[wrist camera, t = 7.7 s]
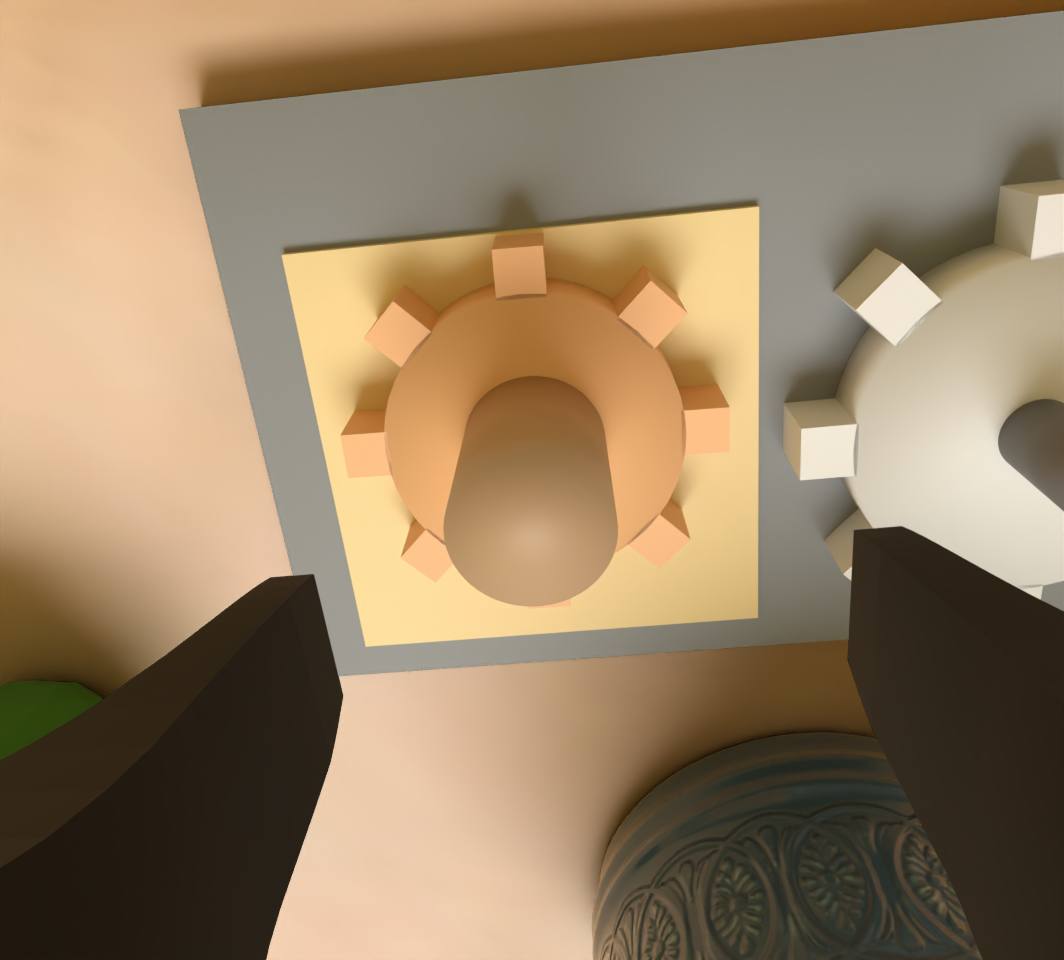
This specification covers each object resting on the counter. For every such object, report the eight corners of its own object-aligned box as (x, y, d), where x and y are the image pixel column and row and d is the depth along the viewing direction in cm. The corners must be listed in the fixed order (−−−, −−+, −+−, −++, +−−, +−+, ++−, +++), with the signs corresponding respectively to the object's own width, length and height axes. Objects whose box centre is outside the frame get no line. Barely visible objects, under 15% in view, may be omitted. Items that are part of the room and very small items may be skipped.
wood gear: (718, 218, 18) (779, 273, 13) (717, 563, 22) (766, 710, 17) (325, 250, 19) (244, 316, 14) (385, 584, 22) (337, 733, 17)
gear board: (1281, -14, 18) (1588, -49, 12) (1151, 590, 24) (1323, 741, 18) (200, 107, 19) (65, 122, 14) (328, 650, 25) (268, 807, 20)
